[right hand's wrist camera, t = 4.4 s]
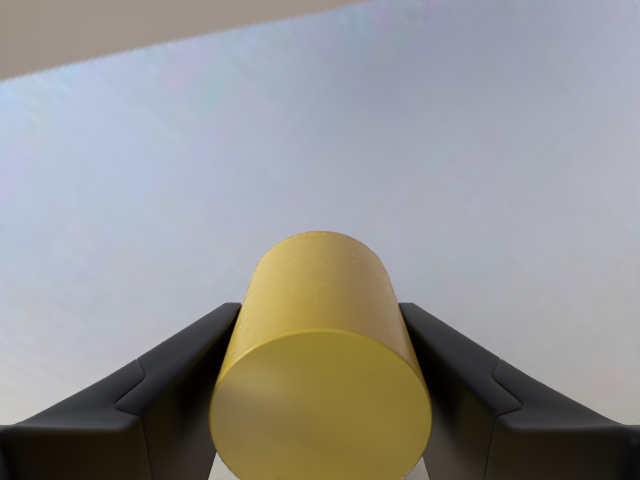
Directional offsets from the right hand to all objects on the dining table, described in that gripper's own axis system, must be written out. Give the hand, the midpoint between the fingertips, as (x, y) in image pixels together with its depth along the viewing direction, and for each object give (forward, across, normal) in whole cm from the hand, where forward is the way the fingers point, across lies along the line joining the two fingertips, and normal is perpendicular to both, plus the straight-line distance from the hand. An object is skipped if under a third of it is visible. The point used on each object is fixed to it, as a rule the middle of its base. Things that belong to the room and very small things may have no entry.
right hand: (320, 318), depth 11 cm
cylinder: (+1, 0, 0) cm, 1 cm away
